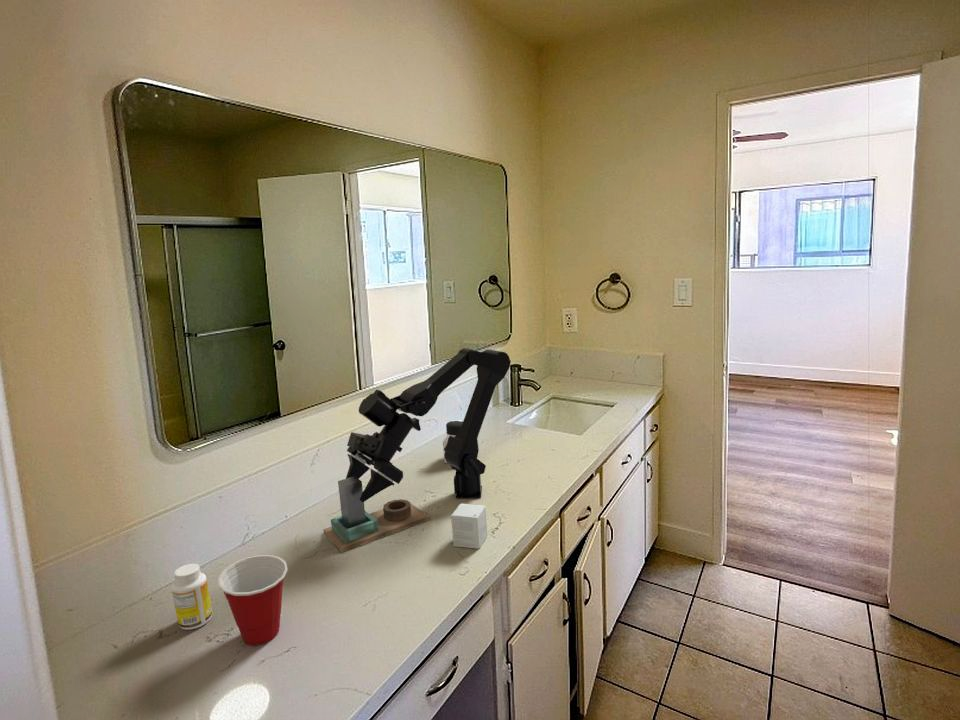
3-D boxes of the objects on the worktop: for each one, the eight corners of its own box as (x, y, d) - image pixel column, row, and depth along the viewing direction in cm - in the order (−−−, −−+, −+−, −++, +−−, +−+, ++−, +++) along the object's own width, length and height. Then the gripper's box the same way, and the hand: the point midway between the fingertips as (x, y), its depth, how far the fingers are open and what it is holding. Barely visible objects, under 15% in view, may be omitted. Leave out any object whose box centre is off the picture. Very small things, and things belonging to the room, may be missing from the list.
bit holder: (407, 504, 142) (406, 491, 141) (429, 519, 133) (428, 505, 132) (323, 533, 129) (322, 519, 128) (342, 552, 120) (340, 537, 120)
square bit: (359, 524, 130) (354, 476, 128) (366, 530, 127) (361, 481, 125) (343, 529, 128) (337, 481, 126) (350, 536, 125) (344, 486, 123)
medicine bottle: (467, 463, 167) (464, 425, 164) (444, 463, 168) (441, 425, 166) (472, 455, 174) (469, 418, 171) (449, 454, 175) (447, 418, 173)
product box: (488, 535, 124) (486, 505, 122) (479, 550, 118) (477, 518, 117) (462, 532, 126) (460, 502, 124) (452, 546, 120) (450, 515, 119)
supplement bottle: (204, 607, 103) (196, 557, 102) (218, 618, 100) (210, 567, 98) (173, 623, 99) (163, 571, 97) (186, 636, 96) (176, 582, 94)
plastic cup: (255, 666, 88) (244, 597, 85) (214, 644, 93) (203, 579, 91) (309, 625, 97) (300, 563, 94) (268, 607, 102) (260, 548, 100)
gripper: (350, 410, 133) (311, 466, 129) (385, 427, 119) (342, 491, 114) (383, 434, 139) (346, 488, 135) (420, 453, 125) (380, 514, 120)
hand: (352, 494), depth 126 cm, fingers open, 9 cm apart
